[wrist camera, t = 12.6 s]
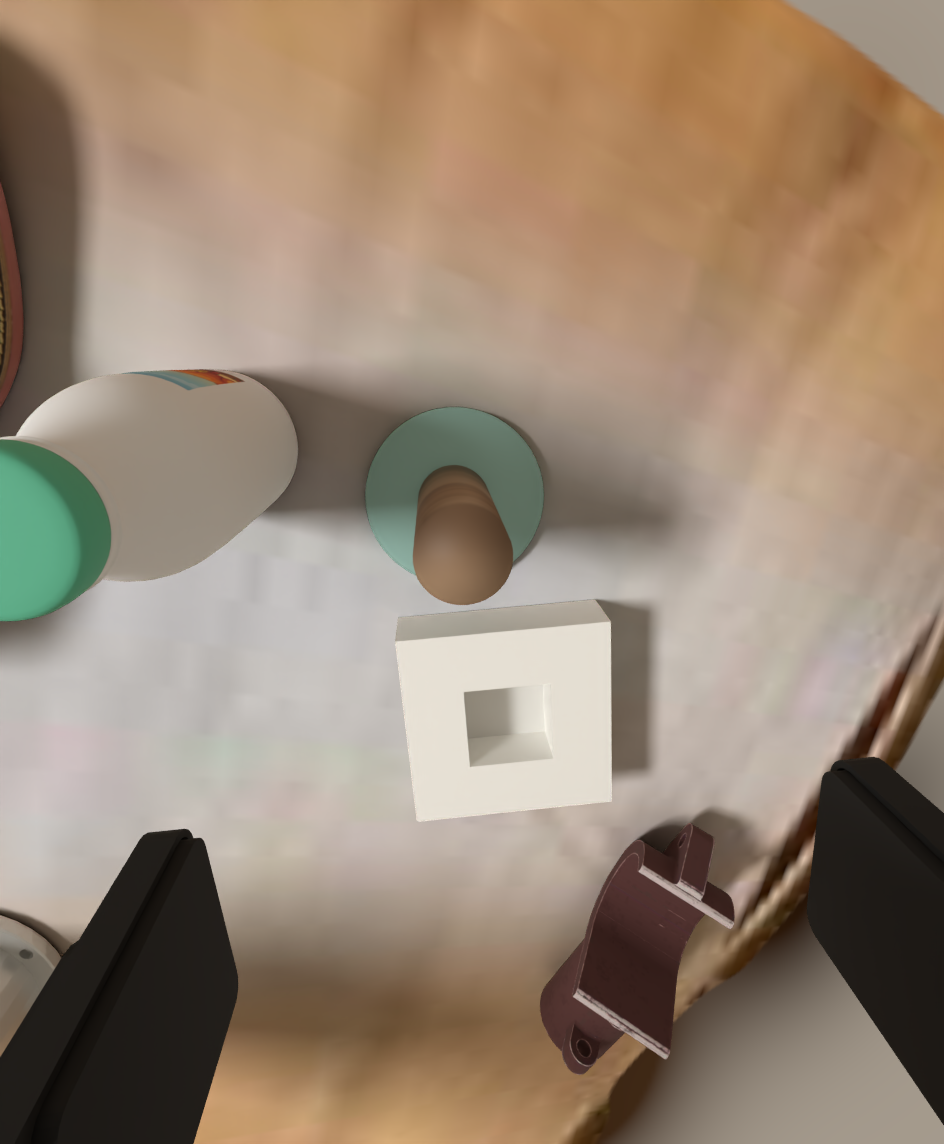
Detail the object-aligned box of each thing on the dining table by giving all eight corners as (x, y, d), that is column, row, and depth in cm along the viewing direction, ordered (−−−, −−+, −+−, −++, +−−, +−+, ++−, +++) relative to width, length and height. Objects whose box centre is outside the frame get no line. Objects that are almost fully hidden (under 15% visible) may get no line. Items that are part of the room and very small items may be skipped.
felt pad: (545, 572, 38) (547, 576, 37) (377, 587, 38) (376, 591, 37) (538, 399, 35) (540, 400, 34) (355, 414, 35) (354, 415, 34)
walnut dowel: (491, 532, 36) (515, 600, 26) (421, 537, 36) (417, 608, 26) (487, 462, 35) (510, 504, 25) (414, 467, 35) (407, 512, 25)
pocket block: (597, 767, 43) (611, 801, 39) (417, 785, 42) (417, 821, 39) (595, 599, 39) (610, 621, 35) (398, 617, 38) (395, 641, 35)
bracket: (746, 848, 42) (749, 983, 33) (623, 981, 50) (599, 1118, 41) (662, 797, 43) (643, 915, 34) (554, 935, 51) (517, 1060, 42)
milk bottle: (315, 395, 34) (174, 435, 15) (283, 529, 36) (124, 711, 17) (168, 348, 33) (-186, 328, 14) (143, 490, 35) (-192, 639, 16)
